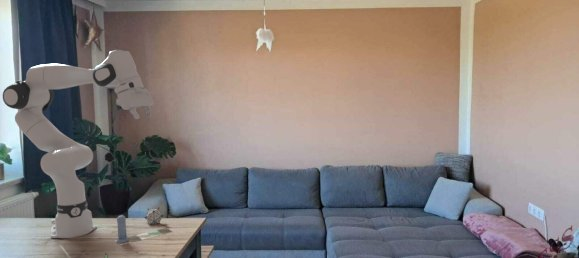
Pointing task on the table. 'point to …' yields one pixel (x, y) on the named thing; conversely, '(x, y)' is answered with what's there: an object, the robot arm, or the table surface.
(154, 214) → the game die
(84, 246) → the table surface
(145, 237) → the track
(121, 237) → the pawn
